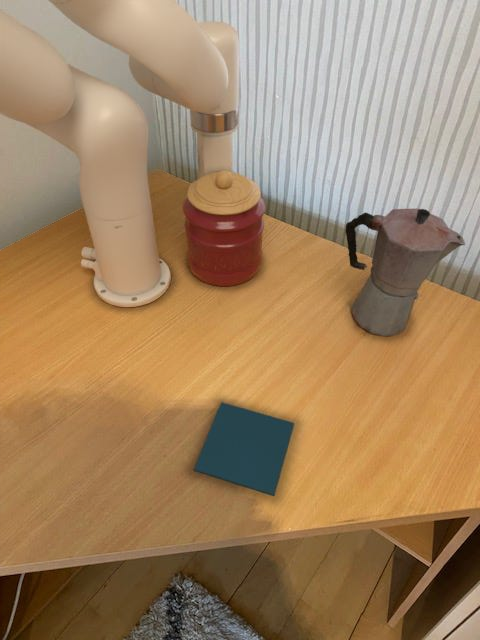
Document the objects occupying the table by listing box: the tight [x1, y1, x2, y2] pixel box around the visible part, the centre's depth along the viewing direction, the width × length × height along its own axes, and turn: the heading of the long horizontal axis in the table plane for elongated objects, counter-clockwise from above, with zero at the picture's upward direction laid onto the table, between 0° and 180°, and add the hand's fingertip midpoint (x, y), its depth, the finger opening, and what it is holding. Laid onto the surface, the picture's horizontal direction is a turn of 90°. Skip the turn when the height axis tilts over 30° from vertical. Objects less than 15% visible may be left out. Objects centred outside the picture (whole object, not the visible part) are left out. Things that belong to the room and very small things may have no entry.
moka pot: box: [345, 208, 466, 337], centre depth 68 cm, size 10×15×20 cm, turn 78°
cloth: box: [193, 401, 295, 497], centre depth 59 cm, size 10×10×1 cm
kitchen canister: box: [182, 170, 266, 287], centre depth 77 cm, size 13×13×18 cm
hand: (217, 214), depth 87 cm, fingers closed
